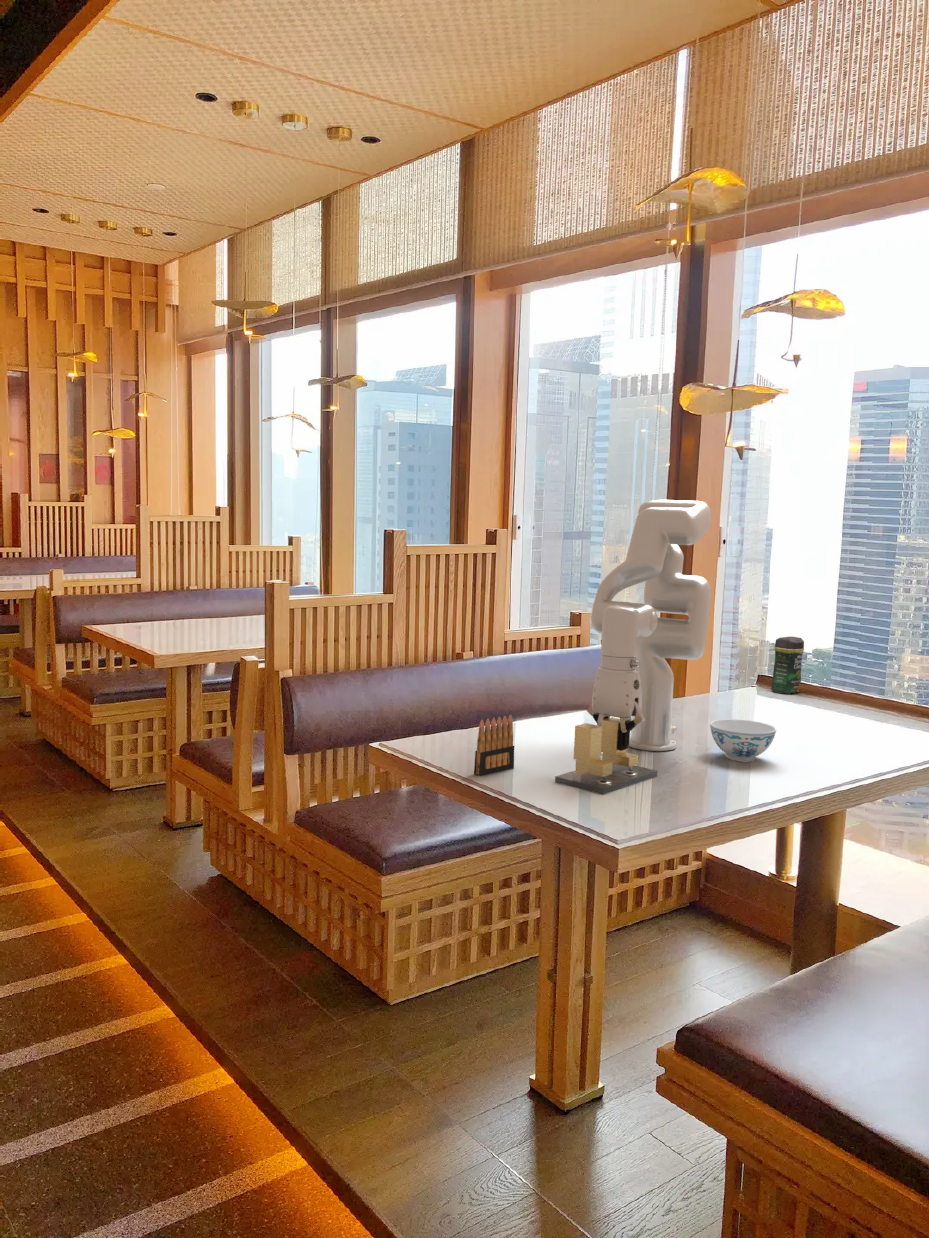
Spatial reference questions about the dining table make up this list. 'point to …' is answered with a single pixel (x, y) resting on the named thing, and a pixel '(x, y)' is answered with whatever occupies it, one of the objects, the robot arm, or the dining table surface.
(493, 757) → the ammunition clip
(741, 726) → the chinaware
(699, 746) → the dining table surface
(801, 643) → the coffee jar
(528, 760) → the dining table surface
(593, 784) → the hole plate
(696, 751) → the dining table surface
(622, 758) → the block
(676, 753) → the dining table surface
